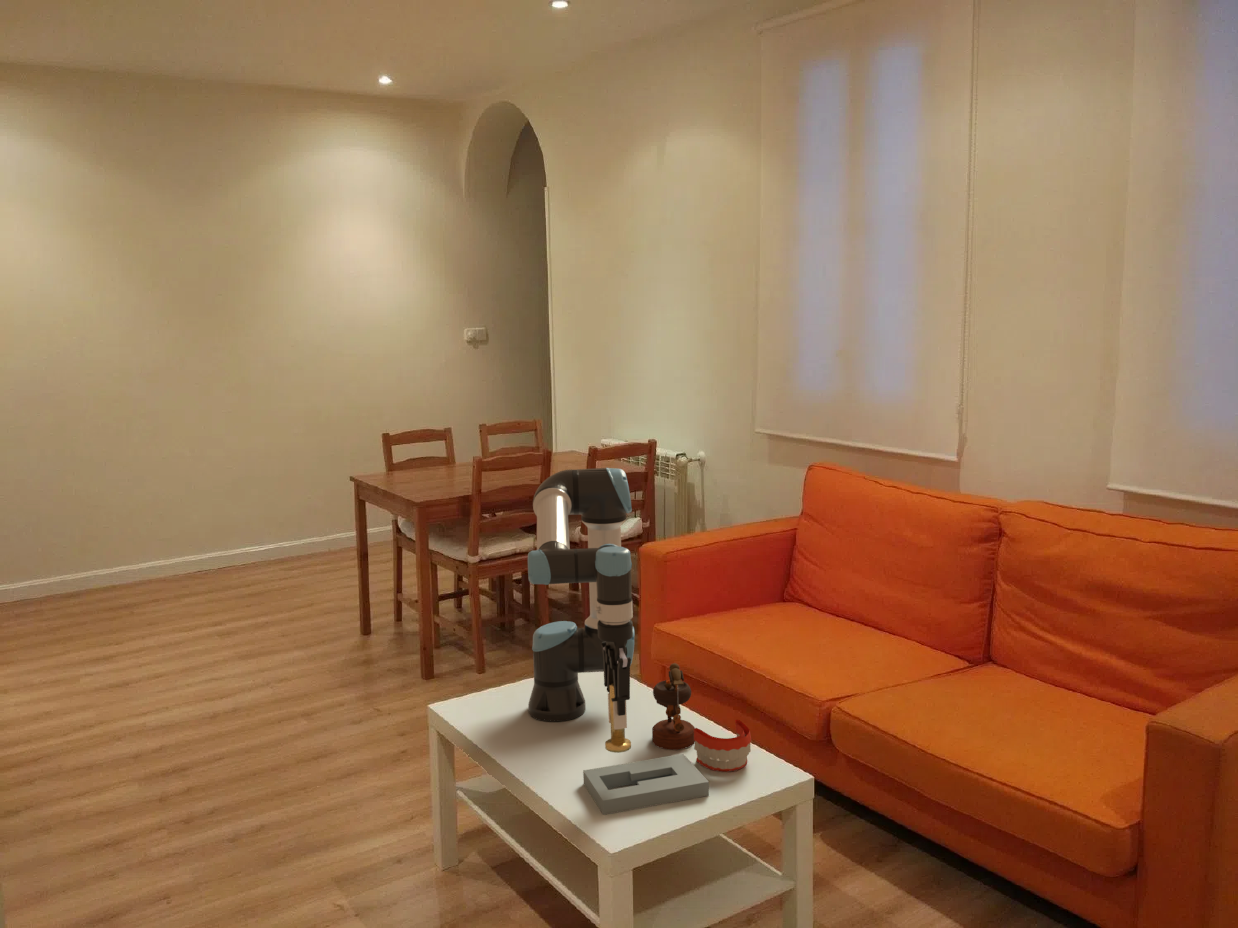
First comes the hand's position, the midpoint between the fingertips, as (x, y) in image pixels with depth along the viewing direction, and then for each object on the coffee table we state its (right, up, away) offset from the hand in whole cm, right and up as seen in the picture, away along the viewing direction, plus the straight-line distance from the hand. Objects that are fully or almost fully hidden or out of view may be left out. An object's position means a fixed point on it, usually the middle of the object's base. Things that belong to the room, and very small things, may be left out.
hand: (617, 724), depth 219 cm
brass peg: (0, -5, +1) cm, 5 cm away
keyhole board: (+6, -16, +4) cm, 17 cm away
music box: (+13, -12, +30) cm, 35 cm away
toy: (+25, -14, +16) cm, 33 cm away
